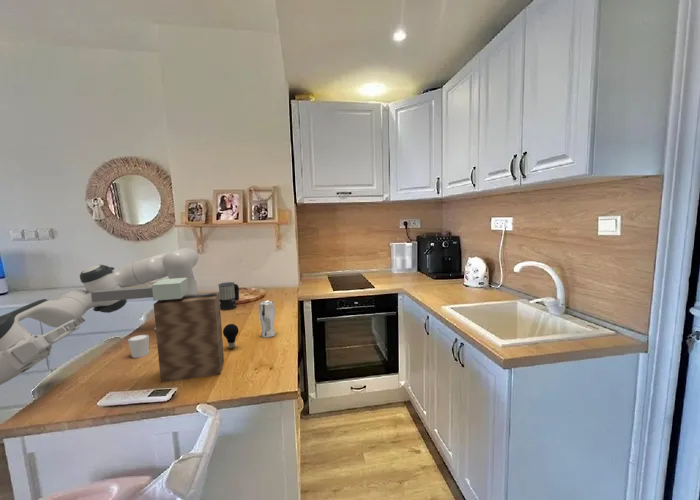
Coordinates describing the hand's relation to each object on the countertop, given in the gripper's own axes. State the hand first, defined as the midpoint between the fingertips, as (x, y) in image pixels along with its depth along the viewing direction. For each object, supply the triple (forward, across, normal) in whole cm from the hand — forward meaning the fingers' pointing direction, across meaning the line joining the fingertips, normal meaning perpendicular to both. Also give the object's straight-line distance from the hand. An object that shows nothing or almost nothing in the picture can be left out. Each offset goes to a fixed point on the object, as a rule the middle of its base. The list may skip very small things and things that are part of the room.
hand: (74, 323), depth 99 cm
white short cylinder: (-3, -22, -23) cm, 32 cm away
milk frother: (+18, -84, -35) cm, 92 cm away
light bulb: (+27, -17, -40) cm, 51 cm away
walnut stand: (+18, 0, -34) cm, 39 cm away
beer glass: (+39, -27, -47) cm, 67 cm away
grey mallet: (+19, 0, -4) cm, 20 cm away
